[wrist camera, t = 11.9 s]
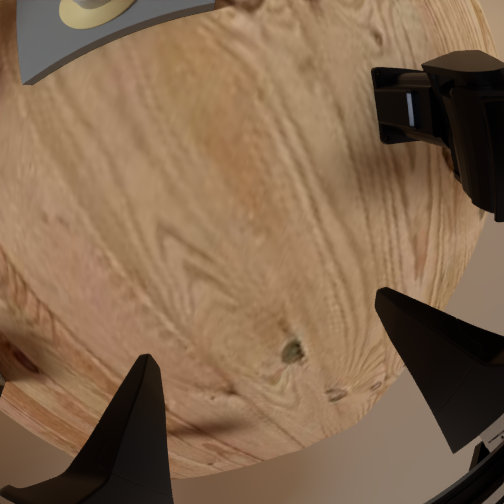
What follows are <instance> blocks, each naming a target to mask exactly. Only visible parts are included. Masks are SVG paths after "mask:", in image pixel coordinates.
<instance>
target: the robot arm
mask: <svg viewBox="0 0 504 504" xmlns="http://www.w3.org/2000/svg"><path fill="white" fill-rule="evenodd" d="M421 65H422V68H423V70H424V71H419V70H411V69H400V68H385V67H375V68H372V70H371V75H372V81H373V86H374V95H375V102H376V109H377V117H378V122H379V131H380V140H381V142H382V143H384V144H395V143H403V142H412V141H424V142H427V143H431V144H434V145H438V146H441V147H444V148H447V149H450V151H451V156H452V161H453V166H454V170H453V172H454V177H455V178H456V179H457V180H458V181H459V182H460V183H461V184H462V187H463V190H464V191H465V192H466V193H467V195H468V196H469V197H470V198H471V200H472V203H473V204H474V205H475V206H477V207H479V208H480V209H482V210H485V211H487V212H490V213H494V215H495V217H494V220H495V221H496V222H504V63H503V62H502V61H500V60H498V59H496V58H494V57H492V56H490V55H488V54H486V53H484V52H482V51H480V50H466V51H454V52H451V53H449V54H446V55H443V56H441V57H438V58H435V59H433V60H430V61H428V62H425V63H423V64H421ZM376 71H378V73H379V75H377V73H376ZM386 136H387V140H386V139H385V137H386ZM375 309H376V312H377V314H378V316H379V318H380V320H381V322H382V324H383V326H384V328H385V330H386V332H387V334H388V336H389V338H390V340H391V342H392V344H393V345H394V347H395V348H396V350H397V352H398V353H399V355H400V357H401V358H402V360H403V362H404V363H405V365H406V367H407V368H408V370H409V372H410V373H411V375H412V376H413V379H414V380H415V382H416V384H417V386H418V387H419V389H420V391H421V392H422V394H423V396H424V398H425V400H426V402H427V404H428V405H429V407H430V409H431V411H432V413H433V415H434V416H435V419H436V421H437V423H438V425H439V426H440V428H441V430H442V432H443V434H444V436H445V438H446V440H447V442H448V445H449V447H450V449H451V451H452V453H453V454H454V453H456V452H457V451H458V450H460V449H461V448H463V447H464V446H466V445H467V444H468V443H469V442H471V441H472V440H473V439H475V438H476V437H477V436H480V437H481V439H482V441H481V442H480V443H479V444H478V445H476V446H475V449H474V454H473V457H472V461H471V465H470V468H469V472H468V473H467V474H465V475H464V476H463V477H462V478H460V479H459V480H458V481H456V482H455V483H454V484H452V485H451V486H450V487H448V488H447V489H446V490H444V491H443V492H441V493H440V494H438V495H437V496H435V497H434V498H432V499H431V500H429V501H427V502H426V503H425V504H503V503H504V336H501V335H498V334H496V333H493V332H490V331H487V330H484V329H482V328H479V327H476V326H474V325H471V324H469V323H467V322H464V321H462V320H460V319H456V317H453V316H451V315H449V314H447V313H445V312H442V311H440V310H438V309H436V308H434V307H431V306H429V305H427V304H425V303H422V302H420V301H418V300H416V299H413V298H411V297H409V296H407V295H404V294H402V293H400V292H397V291H395V290H393V289H391V288H388V287H383V288H381V289H378V290H377V292H376V299H375ZM0 496H2V497H4V498H5V499H7V500H9V501H11V502H13V503H15V504H174V502H173V497H172V489H171V480H170V471H169V460H168V448H167V434H166V415H165V401H164V394H163V387H162V380H161V372H160V368H159V366H158V364H157V363H156V361H155V360H154V359H153V357H152V356H151V355H150V354H142V355H140V356H139V357H138V358H137V360H136V361H135V363H134V365H133V366H132V368H131V369H130V371H129V373H128V374H127V376H126V377H125V379H124V381H123V382H122V384H121V385H120V387H119V389H118V390H117V392H116V394H115V395H114V397H113V399H112V400H111V402H110V404H109V405H108V407H107V409H106V410H105V412H104V414H103V415H102V417H101V419H100V420H99V423H98V424H97V425H96V427H95V429H94V431H93V432H92V434H91V435H90V437H89V439H88V440H87V442H86V443H85V445H84V446H83V448H82V449H81V450H80V452H79V453H78V455H77V456H76V457H75V459H74V460H73V462H72V463H71V465H70V466H69V467H68V468H67V470H66V471H65V472H64V473H62V474H61V475H59V476H57V477H54V478H52V479H49V480H47V481H44V482H41V483H38V484H35V485H32V486H29V487H26V488H15V487H13V486H11V485H7V486H5V487H3V488H1V489H0Z"/></svg>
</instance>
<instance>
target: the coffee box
mask: <svg viewBox="0 0 504 504" xmlns="http://www.w3.org/2000/svg"><path fill="white" fill-rule="evenodd" d="M4 386H5V380H4V379H3V377H2V375H1V373H0V397H1V394H2V391H3V388H4Z"/></svg>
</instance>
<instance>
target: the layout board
mask: <svg viewBox="0 0 504 504" xmlns="http://www.w3.org/2000/svg"><path fill="white" fill-rule="evenodd" d="M214 6H215V0H17V13H16V21H17V45H18V56H19V65H20V73H21V80H22V85H33V84H35V83H36V82H38V81H39V80H41V79H42V78H44V77H45V76H47V75H49V74H50V73H52V72H53V71H55V70H57V69H58V68H60V67H62V66H63V65H65V64H67V63H69V62H70V61H72V60H74V59H76V58H78V57H80V56H82V55H83V54H85V53H87V52H89V51H91V50H93V49H96V48H98V47H100V46H102V45H104V44H106V43H109V42H111V41H113V40H116V39H118V38H120V37H123V36H125V35H128V34H131V33H133V32H136V31H139V30H141V29H144V28H147V27H150V26H153V25H156V24H160V23H163V22H166V21H170V20H173V19H177V18H181V17H185V16H189V15H193V14H197V13H202V12H207V11H212V10H214Z"/></svg>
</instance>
